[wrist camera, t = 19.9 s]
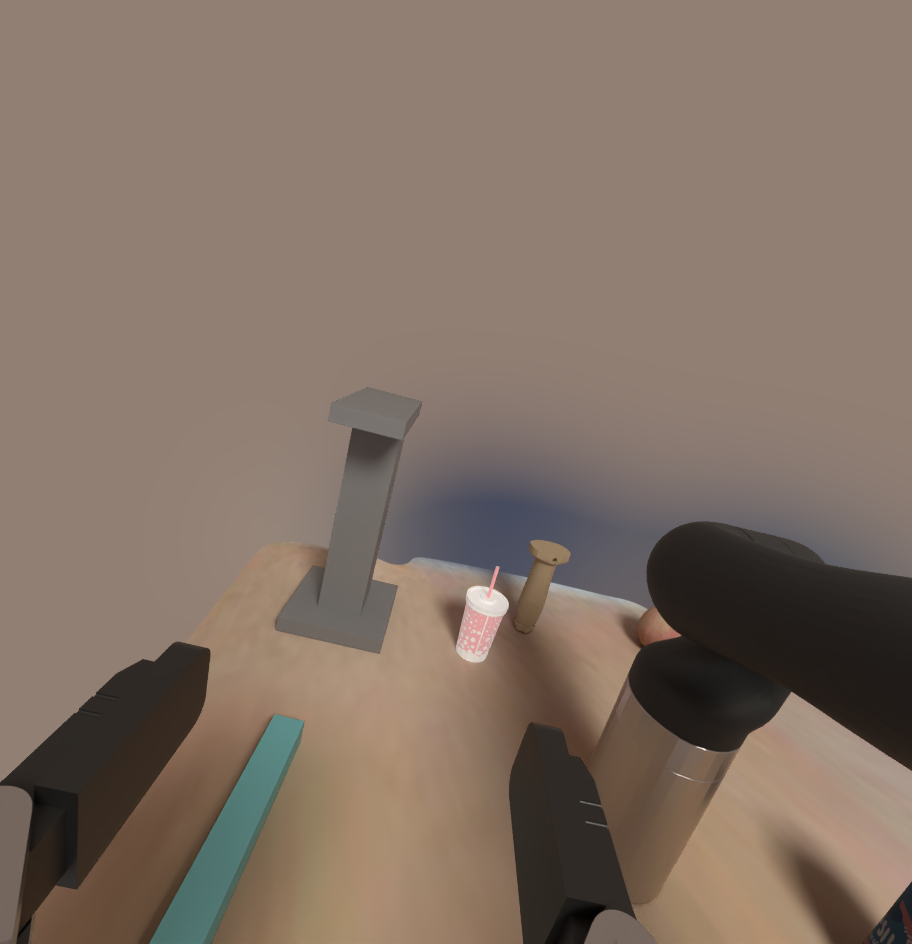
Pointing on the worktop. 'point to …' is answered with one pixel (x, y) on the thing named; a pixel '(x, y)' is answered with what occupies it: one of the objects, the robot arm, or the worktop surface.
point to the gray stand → (356, 529)
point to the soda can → (895, 923)
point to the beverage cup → (480, 621)
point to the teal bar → (230, 840)
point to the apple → (654, 628)
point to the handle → (538, 582)
